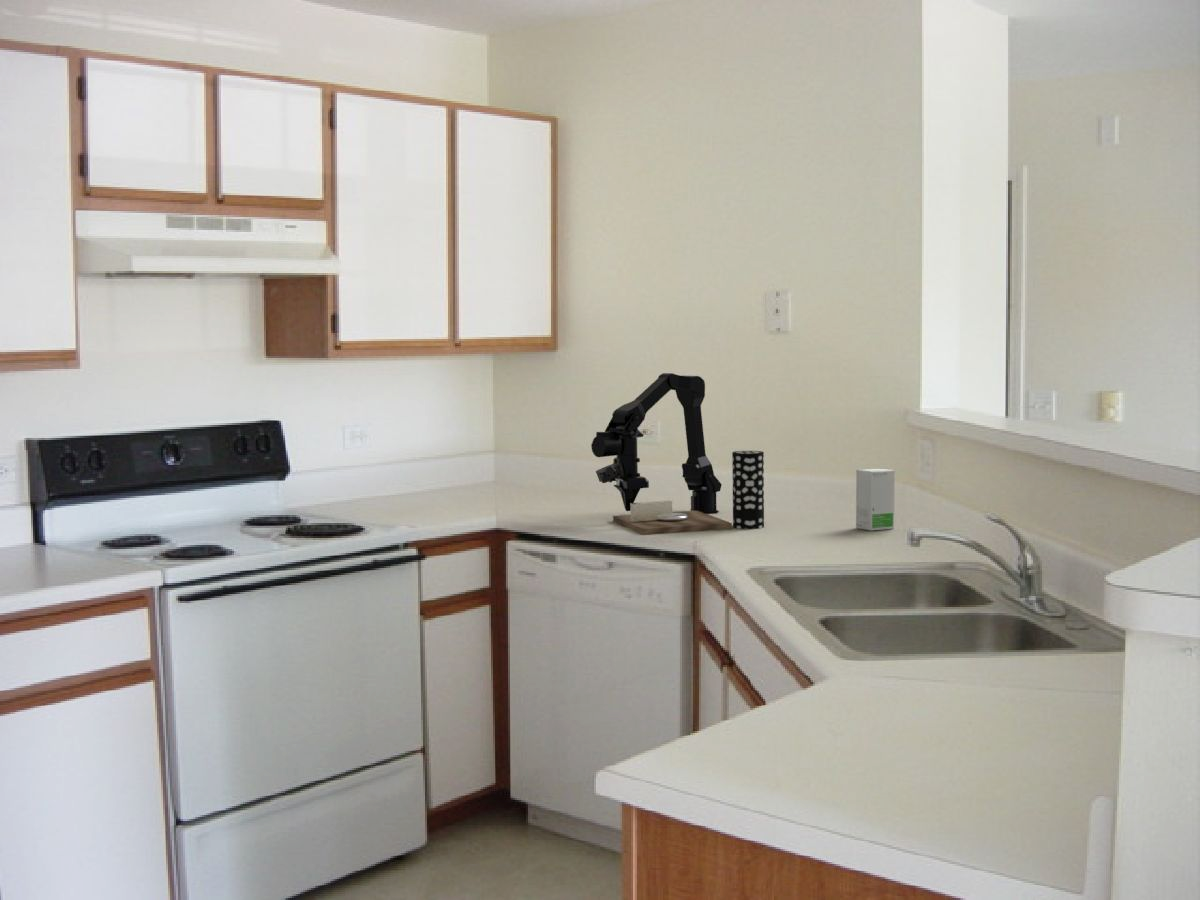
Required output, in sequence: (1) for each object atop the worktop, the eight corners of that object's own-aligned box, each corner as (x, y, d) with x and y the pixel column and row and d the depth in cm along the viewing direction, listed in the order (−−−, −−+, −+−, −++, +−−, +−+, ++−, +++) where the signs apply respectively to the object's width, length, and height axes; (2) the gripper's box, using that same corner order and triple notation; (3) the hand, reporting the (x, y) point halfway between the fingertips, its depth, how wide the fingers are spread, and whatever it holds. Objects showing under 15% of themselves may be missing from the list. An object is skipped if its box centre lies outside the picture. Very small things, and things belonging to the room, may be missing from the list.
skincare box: (870, 531, 340) (870, 471, 338) (854, 528, 346) (854, 469, 344) (895, 528, 344) (895, 469, 342) (879, 525, 350) (879, 467, 348)
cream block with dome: (679, 514, 362) (678, 497, 362) (693, 519, 354) (692, 501, 353) (625, 519, 356) (625, 501, 356) (638, 523, 348) (638, 505, 348)
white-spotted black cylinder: (746, 523, 357) (745, 450, 355) (770, 526, 351) (770, 451, 349) (726, 526, 351) (725, 452, 349) (750, 530, 346) (750, 454, 344)
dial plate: (697, 515, 372) (696, 510, 372) (731, 528, 348) (731, 522, 348) (613, 521, 365) (613, 515, 365) (642, 534, 341) (642, 528, 341)
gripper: (588, 452, 365) (589, 508, 366) (609, 459, 347) (610, 517, 349) (626, 450, 368) (627, 505, 370) (649, 457, 350) (649, 515, 352)
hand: (627, 511), depth 360 cm, fingers closed
